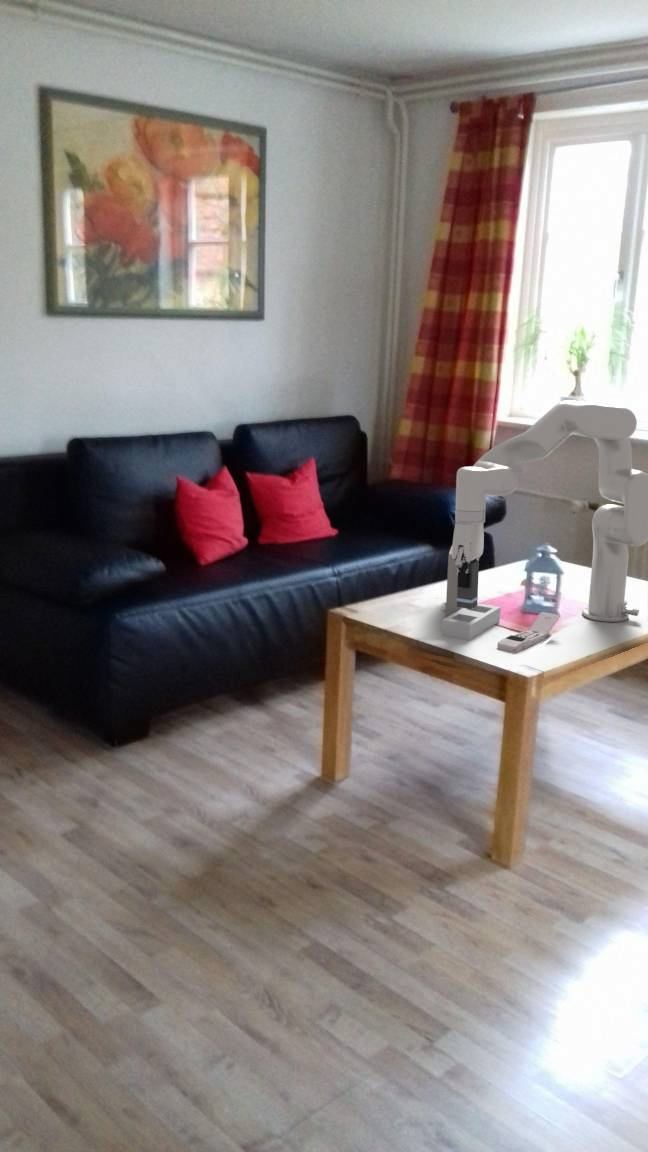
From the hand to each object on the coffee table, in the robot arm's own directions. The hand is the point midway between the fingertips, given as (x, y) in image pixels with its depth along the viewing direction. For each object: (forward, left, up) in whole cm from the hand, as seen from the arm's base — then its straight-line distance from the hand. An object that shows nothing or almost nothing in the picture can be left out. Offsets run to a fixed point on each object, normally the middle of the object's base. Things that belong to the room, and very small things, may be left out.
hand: (467, 584), depth 265 cm
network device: (+11, -18, -14) cm, 25 cm away
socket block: (0, -5, -14) cm, 15 cm away
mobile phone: (-16, -3, -14) cm, 22 cm away
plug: (0, 0, -6) cm, 6 cm away
